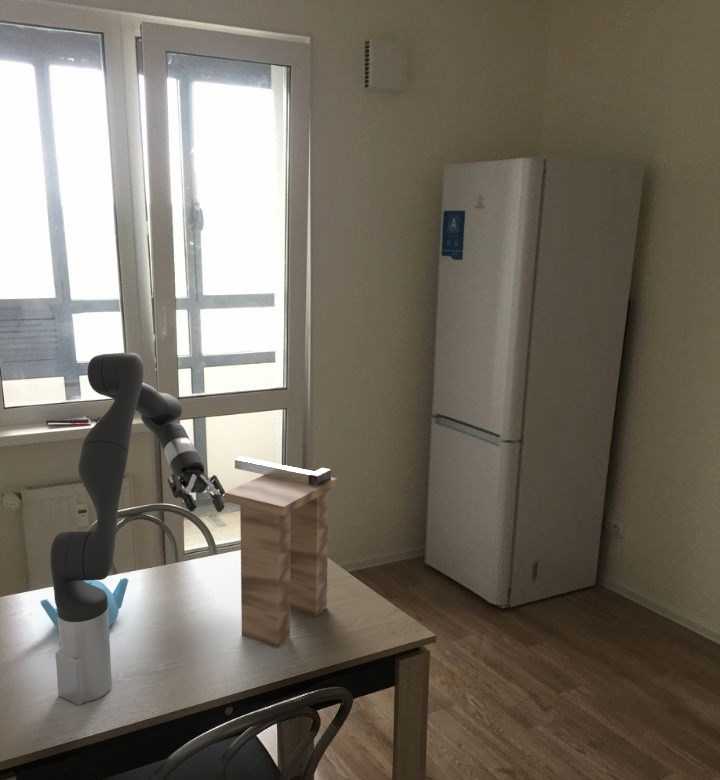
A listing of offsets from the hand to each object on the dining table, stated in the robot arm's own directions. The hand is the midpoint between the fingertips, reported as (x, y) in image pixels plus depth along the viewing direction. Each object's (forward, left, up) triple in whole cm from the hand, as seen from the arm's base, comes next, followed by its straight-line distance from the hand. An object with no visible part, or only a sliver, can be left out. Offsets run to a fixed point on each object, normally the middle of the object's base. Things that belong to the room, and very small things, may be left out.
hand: (207, 509), depth 171 cm
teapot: (-22, +18, -25) cm, 38 cm away
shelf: (+3, -20, -25) cm, 32 cm away
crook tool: (+10, -15, +9) cm, 20 cm away
